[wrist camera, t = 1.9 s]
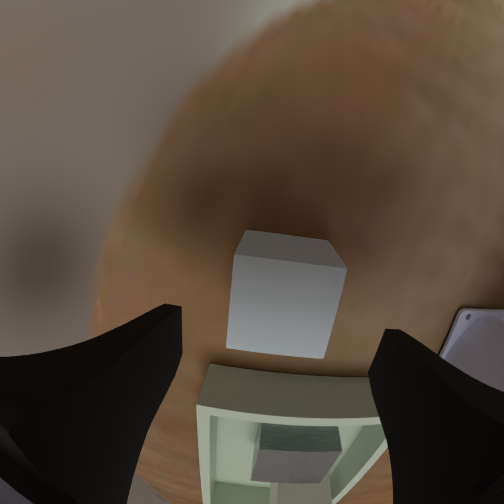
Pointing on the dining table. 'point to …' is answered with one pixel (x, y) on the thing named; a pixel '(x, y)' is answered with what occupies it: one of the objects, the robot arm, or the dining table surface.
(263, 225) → the dining table surface
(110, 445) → the robot arm
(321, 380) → the crate
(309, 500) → the beige cube
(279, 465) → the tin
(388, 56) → the dining table surface
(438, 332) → the dining table surface
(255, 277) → the grey cube
